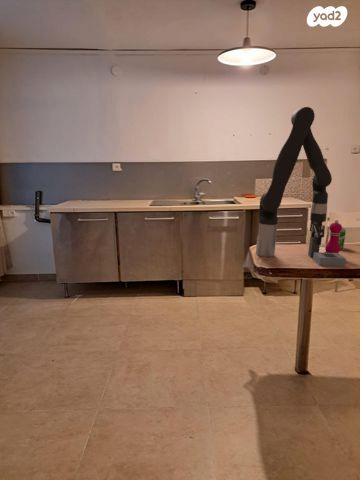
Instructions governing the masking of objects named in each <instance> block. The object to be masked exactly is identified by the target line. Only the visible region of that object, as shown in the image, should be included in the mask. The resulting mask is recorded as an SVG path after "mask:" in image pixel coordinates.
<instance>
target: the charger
mask: <svg viewBox="0 0 360 480" xmlns="http://www.w3.org/2000/svg"><path fill="white" fill-rule="evenodd" d="M316 240H317V234H316V233H315V234H314V237H311V236H310V237H309V243H308V244H309V245H308V250H307V251H308V252H307V256H308V257H309V258H312V259H313V256H314V252H320V247H321V245H317V244H316Z"/></svg>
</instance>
